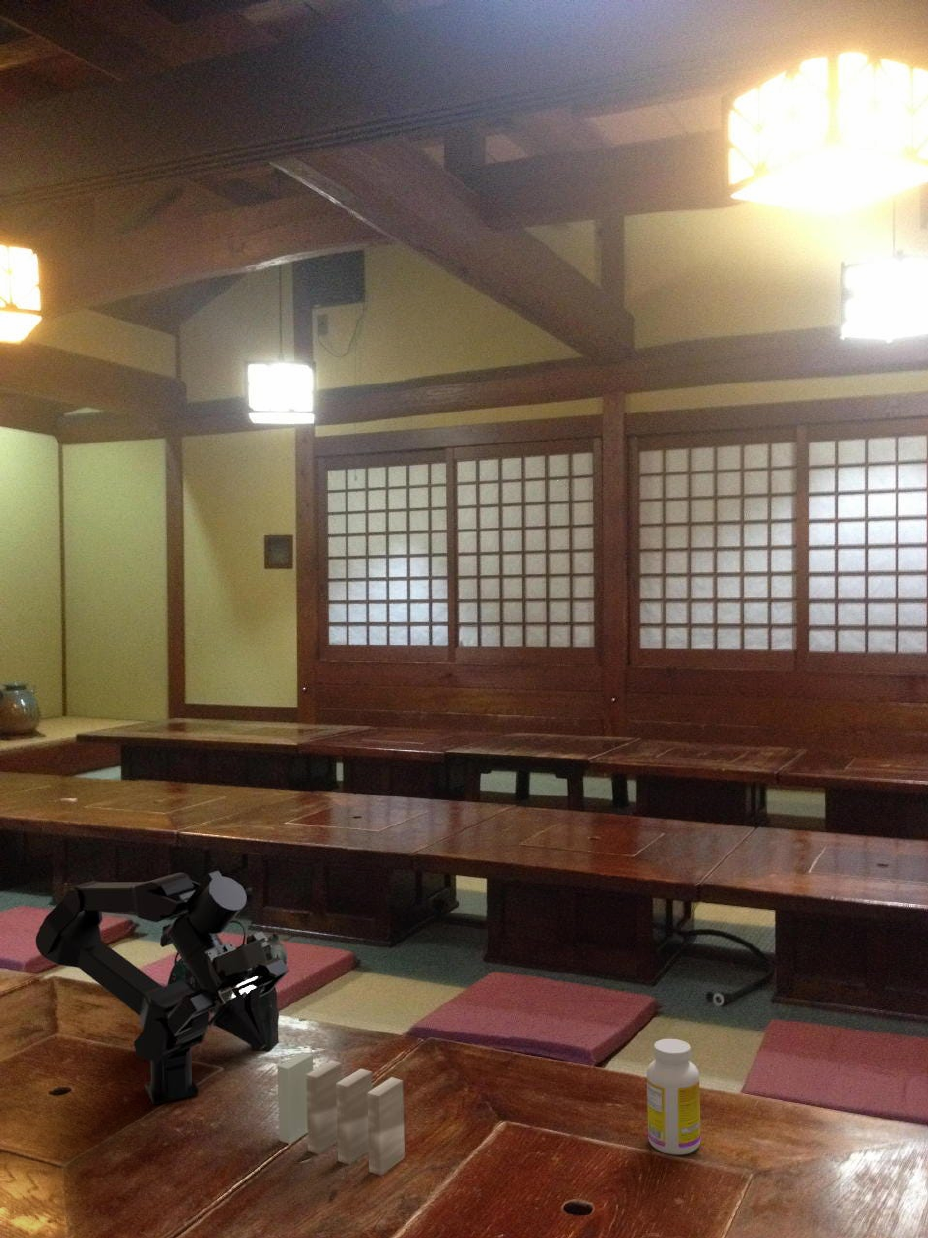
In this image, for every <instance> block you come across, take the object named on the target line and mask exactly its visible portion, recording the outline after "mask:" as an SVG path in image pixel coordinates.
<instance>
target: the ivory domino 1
mask: <svg viewBox="0 0 928 1238" xmlns="http://www.w3.org/2000/svg"><path fill="white" fill-rule="evenodd" d="M341 1080H343V1063H342V1062H339V1061H336V1060H333V1059H331V1060H329V1061H327V1062H326V1063H324V1064H322V1065H319V1066H318V1067H316V1068H315V1069H313V1071H311V1072H310V1073H308V1074H306V1088H307V1127H308V1133H307V1151H308V1152H311V1153H314V1154H316V1155H320V1154H322V1153H323V1152H324V1151H327V1150H328V1149H329V1148H330V1147H332V1146H333V1145H335V1144H336V1143H338V1135H337V1094H336V1083H338V1082H339V1081H341Z"/></svg>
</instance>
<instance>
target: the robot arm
mask: <svg viewBox="0 0 928 1238" xmlns="http://www.w3.org/2000/svg"><path fill="white" fill-rule="evenodd" d="M189 875H190V874H189ZM189 875H188V874H187V873H184V872H177V873H174V874H173V873H172V874H171V875H166V876H163V877H160V878H156V879H153V880H149V881H145V882H144V881H140V882H138V881H137V882H136V881H134V882H132V881H131V882H130V881H129V882H126V881H125V882H118V881H117V882H100V881H95V880H93V881H92V880H91V881H90V882H86V883H82V884H78V885H76V886H72V887H71V888H69V889H67V891H66V892H65V894H64V896H63V899H62V900H61V901H60V902H59V903H58V904H57V905H55V907H54V908H53V909H52V910H51V911H50V912H49V913H48V914H47V915H46V916H45V918H44V919H43V922H42V924H41V925H40V926H39V929H38V931H37V934H36V935H35V945H36V949H37V950H38V952H39V953H40V954H41V956H42V957H43V958H44V959H46V960H47V961H49V962H52V963H54V964H55V965H57V966H63V967H69V968H77V969H80V970H81V971H82V972H83V973H85V974H86V975H87V976H89V978H91V979H92V980H94V981H95V982H96V983H97V984H99V985H100V986H101V987H103V988H104V989H105V990H106V991H108V993H110V994H111V995H112V996H114V997H115V998H117V999H118V1000H119V1001H121V1003H123V1004H124V1005H125V1006H127V1007H129V1008H130V1009H131V1010H132V1011H133V1012H134V1013H136V1014H137V1015H138V1016H139V1020H140V1027H141V1031H142V1032H141V1033H140V1034H139V1035H138V1036H137V1038H136V1039H135V1040H133V1045H134V1049H135V1052H136V1056H137V1057H138V1058H140V1059H144V1060H147V1061H150V1082H147V1083H145V1084H144V1088H145V1090H146V1093H147V1094H148V1097H149V1098H150V1100H151V1103H152V1104H153V1105H158V1104H163V1103H167V1102H172V1101H176V1100H177V1101H178V1100H181V1099H185V1098H191V1097H194V1096H195V1097H196V1096H198V1095H199V1094H200V1091H199V1088H198V1086H197V1085H196V1083H195V1082H194V1080H193V1078H192V1073H193V1072H192V1048H193V1047H194V1046H196V1045H198V1044H202V1043H203V1042H204V1039H205V1036H206V1032H207V1030H208V1027H212V1026H215V1027H216V1028H219V1029H221V1030H223V1031H225V1032H227V1033H229V1034H231V1035H233V1036H234V1037H237V1038H238V1039H240V1040H241V1041H243V1042H245V1043H247V1044H248V1045H250V1046H251V1045H252V1046H253V1047H255V1048H257V1049H261V1048H263V1047H264V1046H265V1045H266V1039H265V1034H264V1030H263V1025H262V1021H261V1016H260V1010H259V998H260V997H261V996H263V995H265V994H267V993H269V992H270V991H271V990H272V989H273V988H274V987H275V988H276V986H277V985H278V984H279V983H281V981H282V979H284V978H285V976H286V975H287V974H288V973H289V972H290V971H291V970H290V969H289V967H288V966H287V964H285V963H284V961H283V960H282V959H280V958H276V957H275V958H273V959H271V960H268V961H267V958H266V955H265V954H268V953H270V952H271V946H270V943H269V940H268V939H267V938H268V937H267V936H266V935H265V934H264V933H263V931H262V930H261V931H260V932H257V933H253V934H252V935H251V934H250V935H251V936H249V937H247V936H246V939H245V942H246V943H245V944H246V945H245V946H242V947H240V948H237V949H236V948H235V947H236V946H235V945H234V943H232V942H231V941H227V942H225V943H224V942H223V941H222V940H221V938H220V936H219V934H220V933H222V932H223V931H225V929H226V928H227V927H228V926H229V925H230V924H231V923H230V922H231V921H232V920H235V917H236V916H237V915H238V914H239V913H240V912H241V911H242V909H243V908H245V906H246V904H247V893H246V891H245V889H244V887H243V886H242V885H241V884H240V883H238V882H237V881H235V880H234V879H232V878H230V877H227V876H222V873H220V871H219V870H215V871H211V872H208V873H206V875H205V876H204V877H203V879H202V881H201V883H200V882H197V881H194V880H192V879H191V878H190V876H189ZM103 912H104V913H105V912H108V913H111V912H112V913H113V912H114V913H115V912H116V913H117V912H118V913H133V914H135V916H136V917H137V918H139V919H141V920H145V921H149V922H152V923H159V922H162V921H165V920H167V919H168V920H169V919H170V918H173V917H175V916H178V917H176V919H175V920H174V921H173V922H172V923H170V924H167V925H164V926H162V935H161V936H160V941H159V942H160V943H159V945H160V947H163V948H164V947H166V946H169V945H171V944H172V945H173V947H174V948H175V950H176V951H177V952H178V953H179V954H178V956H179V957H180V958H182V960H183V961H184V963H185V965H186V966H187V968H188V971H187V973H186V974H185V977H186V978H187V980H188V981H189V980H192V979H195V981H196V982H197V984H198V986H199V987H200V989H201V990H198V991H196V992H195V991H193V990H191V989H190V988H189V987H188V986H187V985H186V984H185V983H183V982H181V981H178V982H175V983H173V984H170V985H168V986H167V985H166V986H163V985H161V984H160V983H158V982H157V980H156V981H155V980H154V979H153V978H152V977H151V976H149V975H148V974H146V973H145V972H143V970H141V969H140V968H138V967H137V966H136V965H134V964H133V963H131V962H130V961H129V960H128V959H127V958H126V957H123V956H122V955H121V954H120V953H118V952H117V951H116V950H114V949H113V948H112V947H111V946H110V945H108V944H107V943H105V942H104V941H103V939H102V932H101V928H100V925H101V923H102V922H103ZM229 923H230V924H229ZM177 952H176V953H177ZM258 963H261V964H259V965H258V967H257V968H256V969H255V970H254V971H253V972H252V973H251V974H250V976H249V977H248V978H246V979H245V978H244V976H245V975H247V974H249V972H250V971H251V970H252V968H253V966H254V965H256V964H258ZM237 989H238V991H235V990H237ZM233 991H235V992H233ZM210 1017H211V1018H210Z"/></svg>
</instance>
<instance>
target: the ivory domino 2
mask: <svg viewBox="0 0 928 1238" xmlns="http://www.w3.org/2000/svg"><path fill="white" fill-rule="evenodd" d="M372 1089H373V1071H371V1070H368V1069H364V1068H359V1069H358V1070H356V1071H355V1072H353V1073H351V1074H349V1075H348V1076H346V1077H344V1078H342V1080H341V1081H339V1082H338V1083H336V1094H337V1135H338V1142H337V1161H338V1162H340V1163H343V1164H346V1165H351V1164H352V1163H355V1161H357V1160H358V1159H359V1158H361V1157H362V1156H364V1155H366V1154H367V1153H369V1138H368V1098H367V1093H368V1092H369V1091H371V1090H372Z"/></svg>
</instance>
